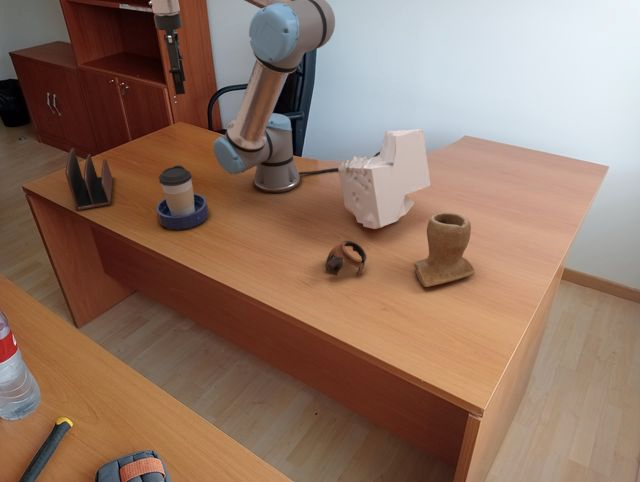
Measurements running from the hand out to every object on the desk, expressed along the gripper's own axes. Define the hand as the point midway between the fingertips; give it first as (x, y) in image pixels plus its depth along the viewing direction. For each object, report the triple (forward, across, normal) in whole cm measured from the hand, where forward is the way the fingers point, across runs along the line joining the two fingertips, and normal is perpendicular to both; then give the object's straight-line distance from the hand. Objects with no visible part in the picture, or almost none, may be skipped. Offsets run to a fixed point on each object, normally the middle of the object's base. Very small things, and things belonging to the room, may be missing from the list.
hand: (180, 87), depth 152 cm
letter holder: (+31, +4, -33) cm, 45 cm away
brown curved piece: (+31, +65, +35) cm, 80 cm away
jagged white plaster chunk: (+31, +43, +52) cm, 74 cm away
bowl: (+31, +27, -4) cm, 41 cm away
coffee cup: (+30, +27, -4) cm, 41 cm away
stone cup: (+31, +71, +58) cm, 97 cm away
